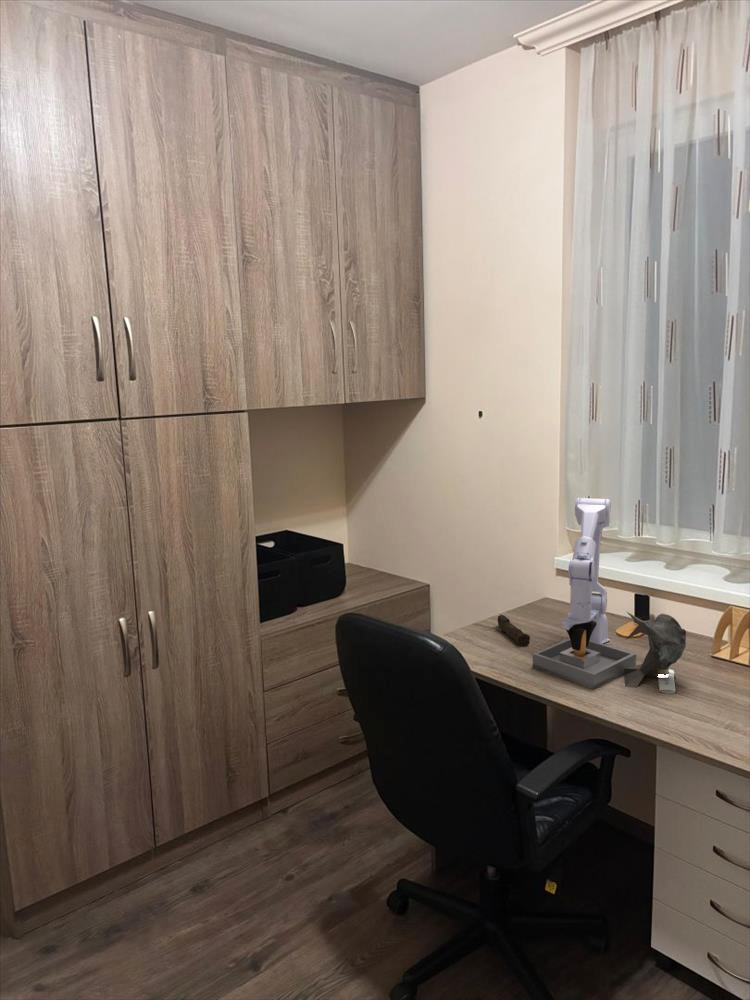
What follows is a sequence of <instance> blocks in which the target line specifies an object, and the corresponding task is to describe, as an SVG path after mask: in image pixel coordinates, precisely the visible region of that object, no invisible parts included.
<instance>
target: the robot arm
mask: <svg viewBox="0 0 750 1000" xmlns="http://www.w3.org/2000/svg"><path fill="white" fill-rule="evenodd" d="M611 504H612V503H611V500H610V499H609V498H591V497H590V498H588V497H579V496H578V497H577V498H576V499H575V505H574V515H575V517H576V518H575V519H576V522H577V524H578V525H579V526H580V537H578V538H577V539H576V541H575V543H574V548H573V553H572V554H573V555H572V560H571V559H570V560H569V563H568V571H567V573H568V579H569V580H568V581H569V582H568V583H569V586H570V594H569V595H570V598H569V599H570V603H569V604H570V605H569V607H570V608H569V612H568V613H567V614H566V616H567V618H565V620H563V621H562V622H561V628H562V629H563V630H566V632H567V634H568V637H569V638H570V641H571V645H572V648H573V649H575V650H578V651H579V650H580V648H581V640H582V635H583V633H584V630H586V647H588V644H589V641H590V640H591V641H595V642H598V643H601V644H605V643H608V642H609V641H610V640H611V639H610V638H608V630H609V629H608V626H609V625H608V624H609V621H608V616H607V615H606V614H607V609H608V597H607V596H608V591H607V588H606V587H604V586H603V585H602V584H601V583H600V582H599V570H600V554H601V541H602V539H601V538H602V536H601V535H602V533H603V530H604V528H607V527H609V526H610V522H611V511H612V510H611V509H612V505H611Z"/></svg>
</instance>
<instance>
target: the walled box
mask: <svg viewBox="0 0 750 1000" xmlns="http://www.w3.org/2000/svg"><path fill="white" fill-rule="evenodd" d="M571 647H572V645H571V641H570V637H569V638H567V639H564V640H562V641H559V642H557V643H555V644H552V645H550V646H548V647H545V648H543V649H541V650H539V651H536V652H534V653H532V668H533V669H537V670H540V671H542V672H544V673H548V674H551V675H554V676H556V677H560V678H561V679H564V680H566V681H567V680H568V681H570V682H573V683H575V684H578V685H581V686H584V687H587V688H589V689H592V690H595V689H597V688H599V687H601V686H603V685H605V684H607V683H608V682H611V681H613V680H615V679H616V678H619V677H621V676H623V675H624V668H628V667H632V666H636V665H637V654H636V653H634V652H632V651H631V652H630V651H627V650H624V649H621V648H618V647H613V646H611V645H608V644H605V643H604V644H601V643H598V642H595V641H591V640H590V641H589V644H588V647H586V648H587V649H590V650H593V651H597V652H600V653H601V658H600V662H598V663H595V664H593V665H591V666H589V667H587V668H585V669H582V668H579V667H576V666H573V665H570V664H567V663H564V662H561V661H560V652H562V651H565V650H567V649H569V648H571Z"/></svg>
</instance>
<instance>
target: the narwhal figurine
mask: <svg viewBox="0 0 750 1000" xmlns="http://www.w3.org/2000/svg"><path fill="white" fill-rule="evenodd" d="M626 613H627V614H628V615H629V617H631V618H632V620H633V621H634V622H635V623H636V624H637V625H638V626H636V627H635V628H634V629H633V630H632V631H631V632H630V634H629V635H628V636H627V637H626V638H625V639H624V640H628V639H630V638H632V637H634V636H636V635H638V634H643V635H647V638H648V646H649V650H648V652H647V654H646V656H645V658H644V660H643V662H642V663H641V664H640V663H639V664H636V666H632V667H628V668H624V674H623V679H624V686H625V688H637V687H638V686H639V684H640V683H641V681H642V680H643V678H644V677H654V678H657V676H658V674H664V675H666V674H669V675H670V666H671V665H674V664H675V663H677V661H678V660H680V658H681V657H682V655H683V653H684V650H685V649H686V648H687V643H686V642H687V630H685V628H683V627H682V626H681V624H680V623H679V621H677V620H676V618H674V617H673V616H672V615H669V614H665V613H660V614H658V615H657V616H656V617H655V618H654V619H648V620H642V619H640V618H639V617H637V616H635V615H633V614H632V613H629V611H626ZM657 679H658V678H657Z"/></svg>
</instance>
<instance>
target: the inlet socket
mask: <svg viewBox="0 0 750 1000" xmlns="http://www.w3.org/2000/svg"><path fill="white" fill-rule="evenodd" d="M600 658H601V653H600V652H597V651H593V650H590V649H587V648H586V655H585V656H583V657H581V656H578V655H574V649H573V648H572V647H571V648H569V649H567V650H565V651H562V652H560V661H561V662H564V663H567V664H570V665H573V666H576V667H579V668H582V669H585V668H587V667H589V666H591V665H593V664H595V663H598V662H600Z"/></svg>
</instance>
